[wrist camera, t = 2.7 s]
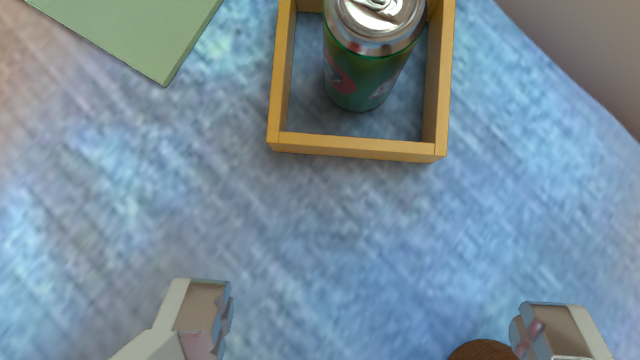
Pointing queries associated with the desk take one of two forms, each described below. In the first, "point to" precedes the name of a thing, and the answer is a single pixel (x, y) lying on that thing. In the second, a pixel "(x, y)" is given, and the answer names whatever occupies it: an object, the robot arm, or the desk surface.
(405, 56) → the soda can
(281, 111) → the frame
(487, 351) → the disposable coffee cup
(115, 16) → the green mat
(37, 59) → the desk surface
